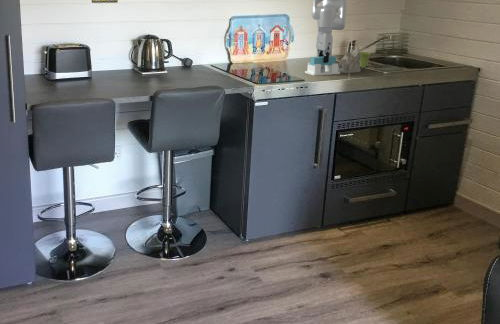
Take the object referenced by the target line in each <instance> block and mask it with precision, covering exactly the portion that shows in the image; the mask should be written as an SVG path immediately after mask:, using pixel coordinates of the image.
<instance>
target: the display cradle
mask: <svg viewBox="0 0 500 324" xmlns="http://www.w3.org/2000/svg"><path fill="white" fill-rule="evenodd" d="M338 68H339V63H338V62H336V63H334V64H332V65H325V66H321V64H316V65H314V66H313V65H310V62H307V70H305V71H304V73H305V74H307V75H311V76H328V75H340V74H341V72H338Z"/></svg>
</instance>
